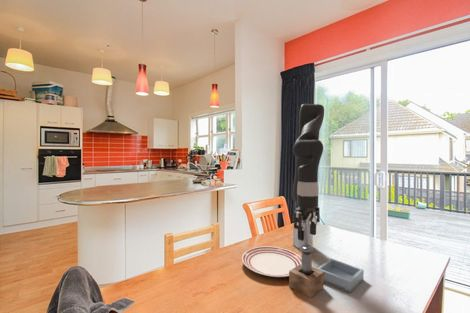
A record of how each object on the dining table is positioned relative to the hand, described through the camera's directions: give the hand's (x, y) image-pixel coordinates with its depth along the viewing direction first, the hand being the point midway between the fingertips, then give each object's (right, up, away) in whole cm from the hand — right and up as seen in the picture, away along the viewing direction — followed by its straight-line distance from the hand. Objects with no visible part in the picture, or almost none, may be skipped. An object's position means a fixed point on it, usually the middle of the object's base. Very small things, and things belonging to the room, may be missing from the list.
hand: (307, 237), depth 86 cm
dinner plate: (-10, -19, +17) cm, 27 cm away
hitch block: (0, -19, 0) cm, 19 cm away
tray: (+15, -19, +6) cm, 25 cm away
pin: (0, -19, 0) cm, 19 cm away
